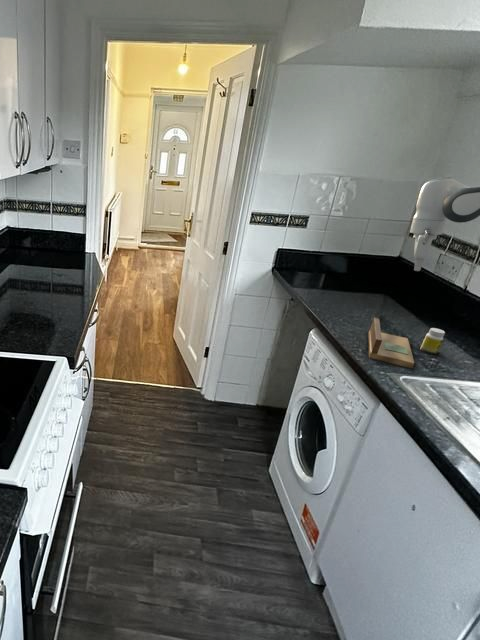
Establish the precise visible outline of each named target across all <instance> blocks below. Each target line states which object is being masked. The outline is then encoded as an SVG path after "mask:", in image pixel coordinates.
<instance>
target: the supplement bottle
mask: <svg viewBox="0 0 480 640" xmlns="http://www.w3.org/2000/svg"><path fill="white" fill-rule="evenodd" d="M445 334H446V332H445V331H444V330H443V329H440V328H436V327H431V328H430V329H429V331H428V332H427V333H426V335H425V337H424V339H423V341H422V343H421V346H420V347H419V349H420V350H421V351H423V352H424V353H427V354H432V355H435V354H438V351H439V350H440V347H441V345H442V343H443V341H444V336H445Z"/></svg>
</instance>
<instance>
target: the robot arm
mask: <svg viewBox="0 0 480 640" xmlns="http://www.w3.org/2000/svg"><path fill="white" fill-rule="evenodd" d="M415 208H416V209H415V210H416V211H415V214H414V216H413V217H412V218H413V219H412V222H411V226H410V229H409V233H411V234H413V236H412V238H413V239H414V249H413V250H414V251H413V258H414V263H413V266H414V268H413V271H415V272H420V271H421V270H422V266H423V263H424V260H427V259H428V258H429V254H430V251H431V246H432V243H433V242H432V241H433V240H437V237H438V236H441V235H443V233H444V230H445V225H446V222H447V220H449V221H451V222H453V223H458V224H460V223H468V222H471V221H474V220H476V219H477V218H479V217H480V186H478V187H470V186H468V185H464V184H463V183H461V182H459V181H457V180H456V179H455V178H453V177H441V178H434V179H430V180H428V181H426V182H425V183H424V184H423V185H422V186H421V189H420V191H419V194H418V197H417V201H416V206H415Z"/></svg>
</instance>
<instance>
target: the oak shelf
mask: <svg viewBox="0 0 480 640" xmlns="http://www.w3.org/2000/svg"><path fill="white" fill-rule="evenodd" d="M367 339H368V358H370V359H374V360H377V361H380V362H381V361H382V362H385V363H389V364H393V365H396V366H399V367H400V366H401V367H405V368H408V369H413V368H414V366H415V360H414V356H413V352H412V348H411V345H410V342H409V341H410V340H409V338H408V337H403V336H398V335H394V334H389V333H386V332H382V330H381V322H380V318H378V317H373V320H372V323H371V326H370V328H369V330H368V333H367Z"/></svg>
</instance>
